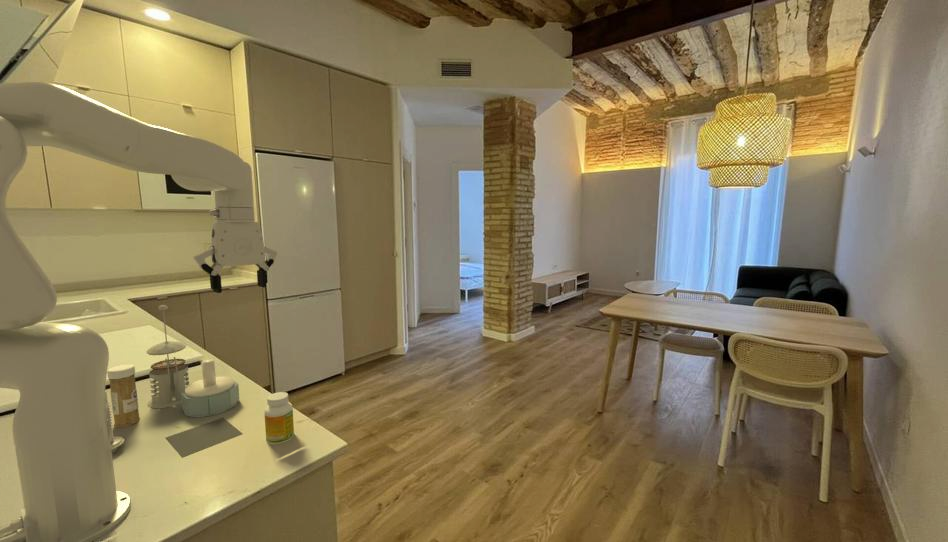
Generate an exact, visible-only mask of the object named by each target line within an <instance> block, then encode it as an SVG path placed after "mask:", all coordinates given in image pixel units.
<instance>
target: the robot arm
mask: <svg viewBox="0 0 948 542" xmlns="http://www.w3.org/2000/svg"><path fill="white" fill-rule="evenodd" d="M28 147H52V148H56V149H62V150H63V151H67V152H69V153H73V154H77V155H80V156H83V157H87V158H91V159H93V160H96V161H98V162H103V163H106V164H109V165H112V166H116V167H119V168H121V169H125V170H127V171H134V172H138V173H139V172H140V173H145V174H152V175H153V174H154V175H169V176H171V179H172V180H173V181H174V182H175V183H176V184H177V185H178V186H180V187H181V188H183V189H184V190H185V189H186V190H189V191H194V192H214V203H215V207H214V209H211V210H210V209H209V210H208V216H209V217H213V218H214V219H215V220H216V221H213V223H212V229H211V230H212V231H211V242H210V247H209V248H207V249H206V250H204V251H203V250H202V251H201V252H199V253H198V254H196V255H194V256H193V259H194V261H195V262H196V264H197V265H198V266H199V268H200V269H201V270H203V271H204V272H206V274H208V275H209V283H210V285H209V286H210V288H211V290H212V291H213V293H216V294H221V293H222V291H223V289H222V288H223V287H222V276H221V275H220V274H219V273H220V272H221V270H222V269H223V268H224V267H239V266H251V265H254V266H256V267H257V270H256V278H257V280H256V281H257V286H258V287H260V288H267V284H268V280H269V279H268V271H269V270H270V268H271V267H272V265H273V264H274V263H275V260H276V258H277V255H278V252H277V251H276V250H273V249H271V248H269V247H267V246H265V243H264V237H263V233H262V229H261V224H260V222H259V221H256V220H255V219H256V218H255V208H254V207H255V205H254V189H253V188H254V187H253V171H252V167H251V165H250V164H249V163H248V162H246V161H244V160H243V159H242V158H241V157H240V156H239V155H238V154H237V153H235V152H233V151H231V150H229V149H227V148H225V147H223V146H221V145H218V144H216V143H214V142H211V141H209V140H206V139H204V138H199V137H196V136H193V135H188V134H185V133H181V132H177V131H175V130H171V129H168V128H164V127H161V126H156V125H152V124H148V123H147V122H143V121H141V120H139V119H137V118H134V117H132V116H129V115H127V114H124V113H123V112H121V111H118V110H116V109H114V108H112V107H109V106H107V105H105V104H103V103H101V102H99V101H97V100H94V99H92V98H89V97H87V96H86V95H83V94H80V93H78V92H76V91H74V90H71V89H69V88H66V87H64V86H61V85H57V84H54V83H50V82H42V81H25V82H24V81H23V82H22V81H21V82H9V83H0V389H10V390H15V391H17V390H18V392H19V400H18V403H17V405H16V408H15V412H14V414H13V418H12V436H13V437H12V438H13V443H14V448H15V454H16V461H17V466H18V467H17V468H18V473H19V480H20V488H21V492H22V500H23V506H24V507H23V508H21V509H20V511H21V516H18V517H16V518H14V519H11V522H10V523H8V524H7V523H6V524H5V525H3V526H0V542H92V541H93V542H94V541H96V540H97V539H99V538H101V537H102V536H104V535H106V534H107V533H109V532H110V531H112V530H113V529H114V528H116V527H117V526H118V525H119V524H120V523H121V522H122V521H123V520H124V519H125V518H126V517H127V515H128V514H129V512H130V511H131V508H132V499H131V497H130V495H129V494H127V493H125V492H123V491H120V490H117V486H116V479H115V478H116V477H115V469H114V461H113V459H114V458H113V453H112V451H111V442H110V434H109V426H108V418H107V409H106V397H105V392H106V382H107V381H106V380H107V375H108V367H109V360H110V357H109V356H110V352H109V351H110V350H109V347H108V345H107V343H106V340H105V339H104V338H103V336H101V335H100V334H99V333H98V332H97V331H94V330H92V329H90V328H88V327H85V326H80V325H77V324H70V323H61V322H57V323H56V322H43V321H44V320H46V319H47V318H48V317H49V316H51V314H52V313H53V312H54V310H55V309H56V306H57V302H58V297H57V292H56V289H55V287H54V285H53V283H52V282H51V280H50V279H49V277H48V276H47V274H46V272H45V271H44V270H43V268H42V267H41V266H40V264H39V263H38V262H37V260H36V259H35V257H34V256H33V254H32V253H31V252H30V249H28V247H27V245H26V244H25V243H24V241H23V239H21V237H20V236H19V234H18V232H17V231H16V228H15V227H14V226H13V223H12V222H11V220H10V218H9V216H8V213H7V208H6V200H7V196H8V192H9V189H10V187H11V184H12V183H13V181H14V179H15V178H16V177H17V176H18V174H19V173H20V172H21V170H22V169H23V168H24V165H25V163H26V161H27V157H28V156H27V155H28ZM266 254H267V258H266ZM208 257H211V262H212V264H211V266H210V265H209V264H207V262H206V261H205V260H206V259H207V258H208Z"/></svg>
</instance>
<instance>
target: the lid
mask: <svg viewBox="0 0 948 542" xmlns="http://www.w3.org/2000/svg"><path fill="white" fill-rule="evenodd" d="M215 365H216V363H215V359H213V358H212V359H209V358H208V359H204V360H202V361H201V369H202V370H201V371H202V379H200V380H195V381H194V382H191V383H189V385H188V386H187V385H186V386H187V387H186V386H185V387H186V388H185V395H186V396H188V397H195V398H198V397H208V396H213V395H217V394H220V393H223V392H225V391H227V390H229V389H231V388H232V387H233V386H234V381H235V380H234V378H232V377H229V376H223V375H222V376H217V375H216V366H215Z"/></svg>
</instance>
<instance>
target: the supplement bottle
mask: <svg viewBox="0 0 948 542" xmlns="http://www.w3.org/2000/svg"><path fill="white" fill-rule="evenodd" d="M266 400H267V401H266V404H267V406H266V407H265V409H264V425H265V426H264V428H265V441H266V443H268V444H270V445H280V444H284V443H286V442H288V441H290V440H292V439H293V438H294V435H295V427H294V425H295V424H294V410H293V409H294V408H293V404H292V403H291V401H290V400H289V394H288V392H286V391H285V392H284V391H280V392H278V391H277V392H274V393H271V394H269V395H268V396H267V399H266Z"/></svg>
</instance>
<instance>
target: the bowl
mask: <svg viewBox="0 0 948 542" xmlns="http://www.w3.org/2000/svg"><path fill="white" fill-rule="evenodd" d="M239 386H240V385H239V382H237V381H236V380H234V386H233V387H232V388H231V389H229V390H227V391H225V392H223V393H220V394H217V395H213V396H208V397H198V398H195V397H188V396H186V395H185V391H183V392H182V393H181V401H182V404H181V407H182V408H181V410H182V411H183V412H184V414H185V415H186V416H187V417H190V418H205V417H210V416H216V415H219V414H221V413H224V412H227V411H229V410H231V409H232V408H234V407H235V406H236V405H237V404H238V401H239V400H240V388H239Z"/></svg>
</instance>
